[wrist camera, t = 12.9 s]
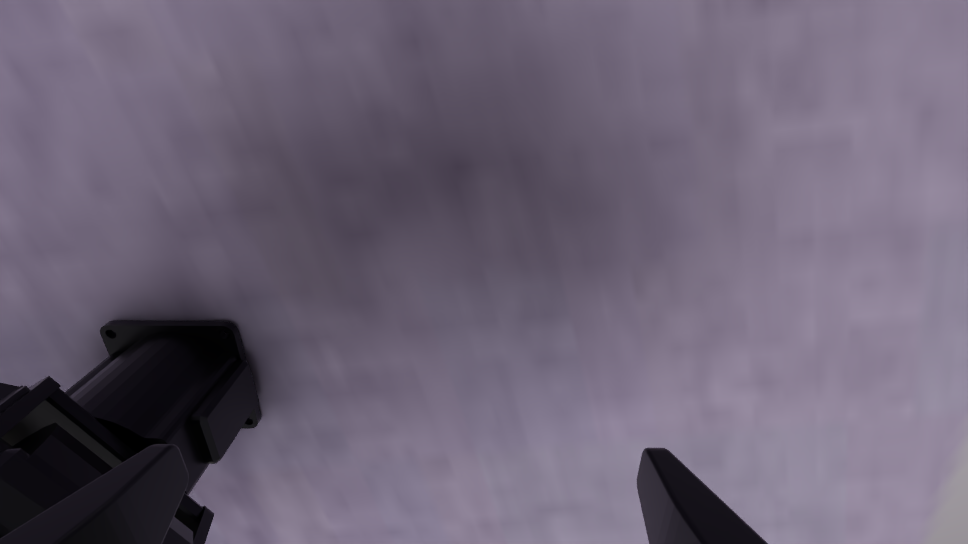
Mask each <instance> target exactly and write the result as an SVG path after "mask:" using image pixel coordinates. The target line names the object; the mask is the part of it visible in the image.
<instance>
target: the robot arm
mask: <svg viewBox="0 0 968 544" xmlns="http://www.w3.org/2000/svg"><path fill="white" fill-rule="evenodd" d="M112 330H113V331H114V332H115V333H114V332H113V331H112ZM223 330H224V331H227V332H228V333H229V334H226V333H224V331H223ZM100 333H101V336H102V338H103V341H104V343H105V346H106V348H107V350H108V353H109V355H110V356H109V357H108V358H107V359H106V360H104V361H103V362H102V363H101V364H99V365H98V366H97V367H96V368H94V369H93V370H92V371H91V372H89V373H88V374H87V375H86V376H84V377H83V378H82V379H81V380H79V381H78V382H77V383H76V384H75V385H73V386H72V387H71V388H70V389H68V390H67V391H66V392H65V393H64V392H63V391H62V390H61V389H60V388H59V387H60V385H59V384H58V383H57V382H56V381H54V380H53V379H52V378H51V377H50V376H48V377H46V378H45V379H43V380H41V381H39V382H38V383H36V384H34V385H33V386H31V387H29V388H28V387H27V386H20V387H18V386H13V385H8V384H3V383H0V544H205V541H206V538H207V535H208V532H209V529H210V526H211V523H212V520H213V517H214V513H213V512H212V511H210V510H209V509H208V508H207V507H206V506H203V507H202V506H200V505H199V504H198V503H197V502H196V501H194V500H193V499H192V498H191V497H190V496H188V495H189V493H190V492H191V490H192V489H193V487H194V486H195V484H196V483H197V481H198V480H199V478H200V477H201V475H202V474H203V472H204V471H205V469H206V468H207V467H208V465H209V464H215V463H217V462H218V461H219V460H220V459H221V458H222V457H223V455H224V454H225V452H226V451H227V449H228V448H229V446H230V445H231V443H232V442H233V440H234V439H235V437H236V436H237V434H238V432H239V431H240V429H241V428H254V427H256V426H257V424H258V423H259V421H260V419H261V414H260V411H259V407H258V396H257V393H256V389H255V385H254V381H253V377H252V374H251V370H250V366H249V364H248V362H247V361H246V358H245V354H244V350H243V347H242V343H241V339H240V335H239V331H238V329H237V327H236V326H235V325H234V324H232V323H230V322H220V321H110V322H109V323H107V324H106V325H104V326H103V327H102V328H101V330H100ZM249 418H250V419H249ZM637 489H638V494H639V499H640V503H641V508H642V512H643V517H644V521H645V526H646V531H647V535H648V540H649V544H768V543H767V542H766V541H765V540H763V539H762V538H761V537H760V536H759V535H758V534H757V533H756V532H755V531H754V530H753V529H752V528H751V527H750V526H749V525H747V524H746V523H745V522H744V521H743V520H742V519H741V518H740V517H739V516H738V515H737V514H736V513H735V512H734V511H733V510H732V509H730V508H729V507H728V506H727V505H726V504H725V503H724V502H723V501H722V500H721V499H720V498H719V497H718V496H717V495H716V494H715V493H713V492H712V491H711V490H710V489H709V488H708V487H707V486H706V485H705V484H704V483H703V482H702V481H701V480H700V479H699V478H698V477H696V476H695V475H694V474H693V473H692V472H691V471H690V470H689V469H688V468H687V467H686V466H685V465H684V464H683V463H682V462H680V461H679V460H678V459H677V458H676V457H675V456H674V455H673V454H672V453H671V452H670V451H669V450H667V449H665V448H645V449H644V450H643V452H642V457H641V461H640V466H639V471H638V476H637Z"/></svg>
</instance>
